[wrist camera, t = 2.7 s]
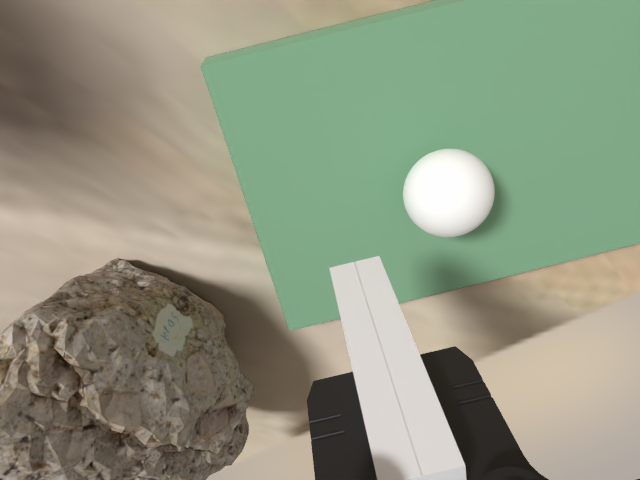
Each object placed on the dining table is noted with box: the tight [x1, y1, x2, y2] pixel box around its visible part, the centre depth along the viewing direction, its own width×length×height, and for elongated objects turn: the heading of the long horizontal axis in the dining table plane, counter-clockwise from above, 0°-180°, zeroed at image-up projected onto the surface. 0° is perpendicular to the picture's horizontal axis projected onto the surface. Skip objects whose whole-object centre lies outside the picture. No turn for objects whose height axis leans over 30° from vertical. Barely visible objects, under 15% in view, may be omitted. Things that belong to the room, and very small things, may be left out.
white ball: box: [403, 149, 495, 237], centre depth 18 cm, size 4×4×4 cm
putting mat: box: [201, 0, 640, 331], centre depth 20 cm, size 28×13×4 cm, turn 102°
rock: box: [0, 259, 254, 480], centre depth 20 cm, size 14×10×8 cm
